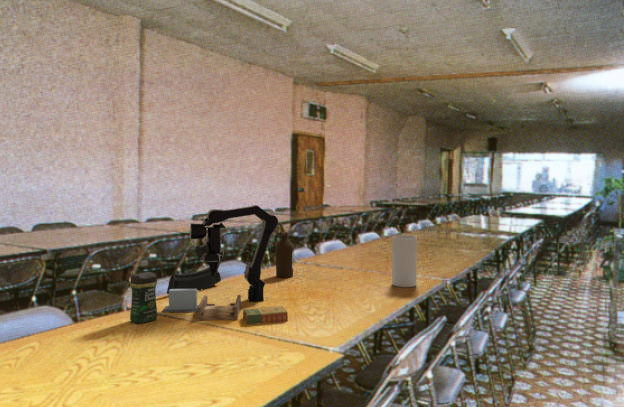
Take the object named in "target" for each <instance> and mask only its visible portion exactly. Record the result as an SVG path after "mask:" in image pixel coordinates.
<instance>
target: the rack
mask: <svg viewBox="0 0 624 407" xmlns="http://www.w3.org/2000/svg"><path fill="white" fill-rule="evenodd" d="M236 296H237V297H236V299H235V301H234V302H231V303H229V306H234V315H213V316H203V314H204V309H205V307H206V306H216V303H208V295H206V294H205V295H203V297H202V299H201V301H200V302H199V304H198V305H199V306H198V307H197V312H196V313H197V315H196V316H197V318H196V319H197V321H215V320H216V321H217V320H221V321H222V320H223V321H224V320H227V319H228V320H234V321H237V320H238V318H239V314H240V310H241V304H242V303H241V297H242V295H241V294H237V295H236Z"/></svg>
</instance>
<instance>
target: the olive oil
mask: <svg viewBox="0 0 624 407" xmlns="http://www.w3.org/2000/svg"><path fill="white" fill-rule="evenodd" d="M288 233H289V232H288V231H282V232H281V239H280V240H279V241H278V242H277V243H276V245H275V247H274V248H275V249H274V250H275V252H274V254H275V276H276V277H277V278H278V279H279V278H280V279H288V278H289V279H290V278H292V277H294V262H295V246H294V244H293V243H292V242H291V241H290V240H289V238H288V236H289V234H288Z"/></svg>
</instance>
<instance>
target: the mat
mask: <svg viewBox="0 0 624 407" xmlns="http://www.w3.org/2000/svg"><path fill="white" fill-rule="evenodd" d="M198 306H199V304H197V307H198ZM161 312H176V313H197V309H189V310H169V305H166V306H164V308H163V309H162V310H161V311H160V313H161Z"/></svg>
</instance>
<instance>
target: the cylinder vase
mask: <svg viewBox="0 0 624 407" xmlns="http://www.w3.org/2000/svg"><path fill="white" fill-rule="evenodd" d="M391 237H392V239H391V240H392V241H391V242H392V244H391V246H392V248H391V251H392V252H391V254H392V255H391V284H392V285H393V286H395V287H398V288H399V287H400V288H413V287H416V285H417V280H418V278H417V275H418V271H417V269H418V268H417V267H418V266H417V264H418V236H416V235H415V236H414V235H405V234H404V235H399V234H398V235H392V236H391Z"/></svg>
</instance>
